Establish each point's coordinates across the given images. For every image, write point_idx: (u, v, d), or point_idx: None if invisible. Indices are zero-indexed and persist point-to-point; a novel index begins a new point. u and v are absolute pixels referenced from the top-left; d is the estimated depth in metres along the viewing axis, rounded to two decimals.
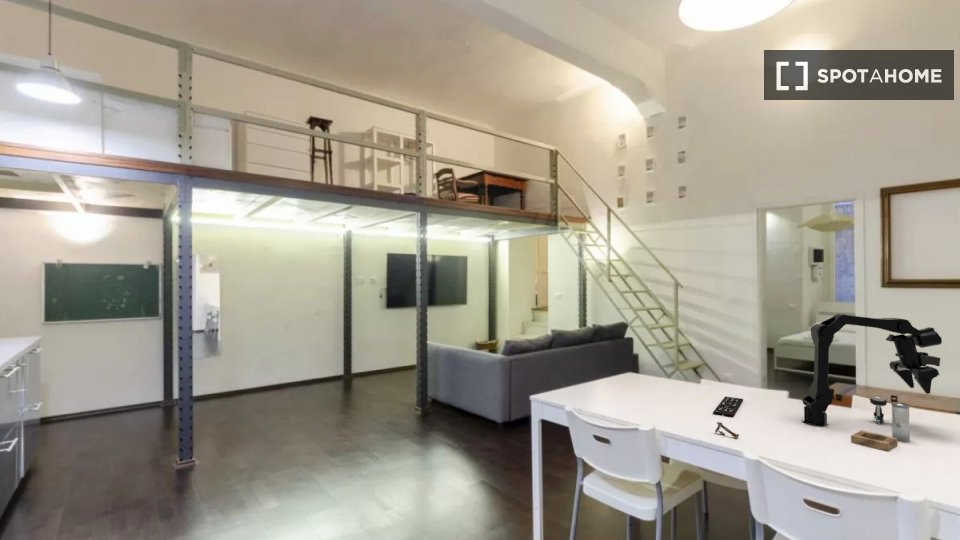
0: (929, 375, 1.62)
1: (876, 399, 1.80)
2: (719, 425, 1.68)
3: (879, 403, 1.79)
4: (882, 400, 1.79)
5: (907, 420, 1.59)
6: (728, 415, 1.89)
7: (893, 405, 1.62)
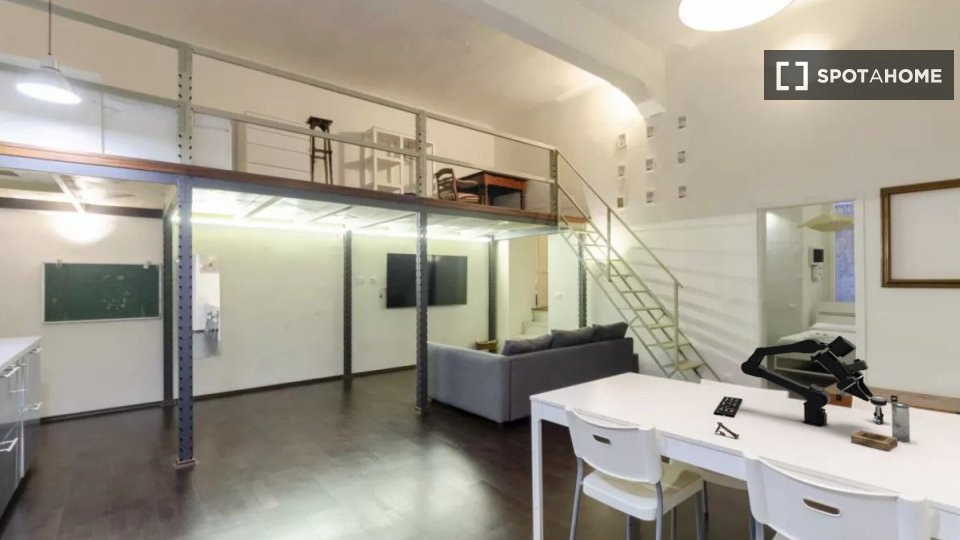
0: (846, 385, 1.65)
1: (876, 399, 1.80)
2: (719, 425, 1.68)
3: (879, 403, 1.79)
4: (882, 400, 1.79)
5: (907, 420, 1.59)
6: (729, 415, 1.88)
7: (893, 405, 1.62)
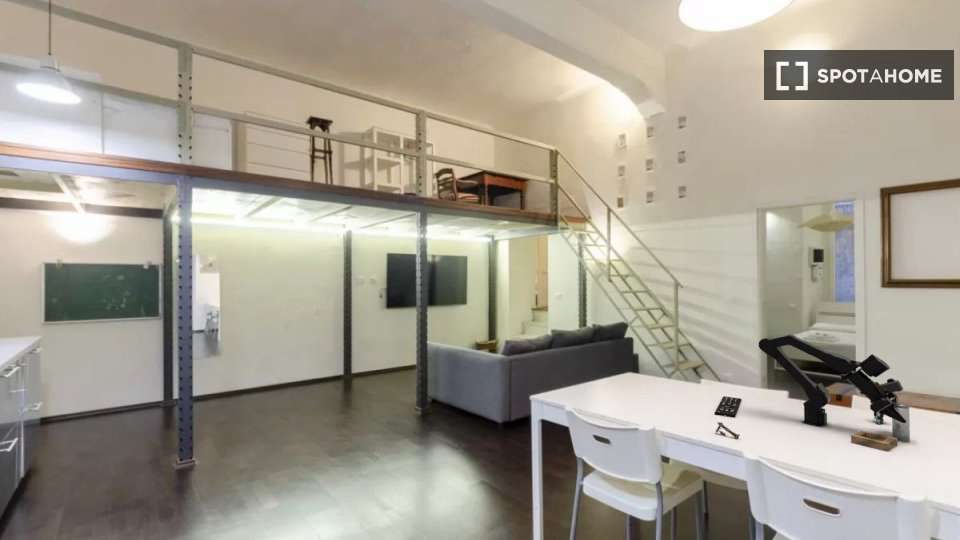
0: (881, 407, 1.58)
1: None
2: (720, 425, 1.67)
3: None
4: None
5: (907, 420, 1.59)
6: (730, 415, 1.88)
7: None
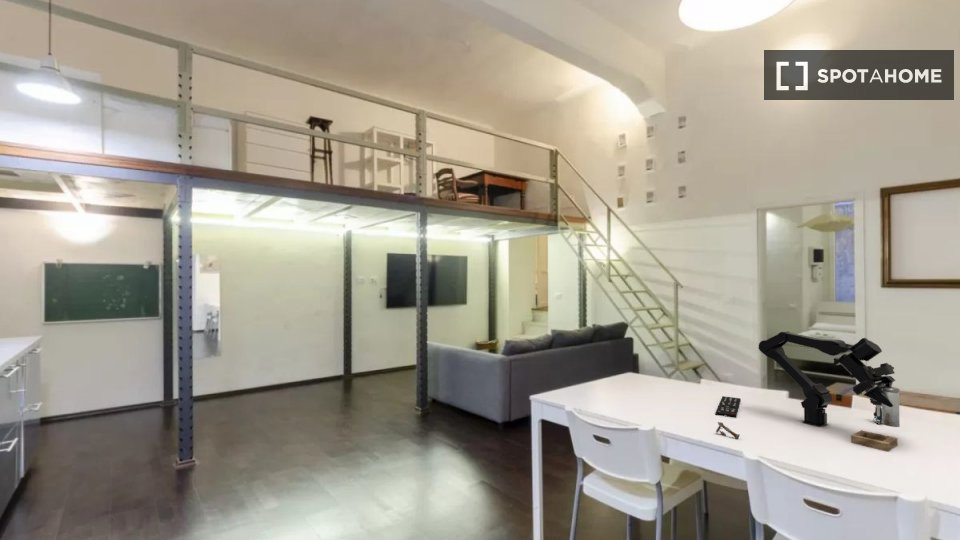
0: (862, 389, 1.58)
1: None
2: (720, 425, 1.67)
3: (879, 403, 1.79)
4: None
5: (895, 404, 1.56)
6: (731, 415, 1.88)
7: (882, 389, 1.59)
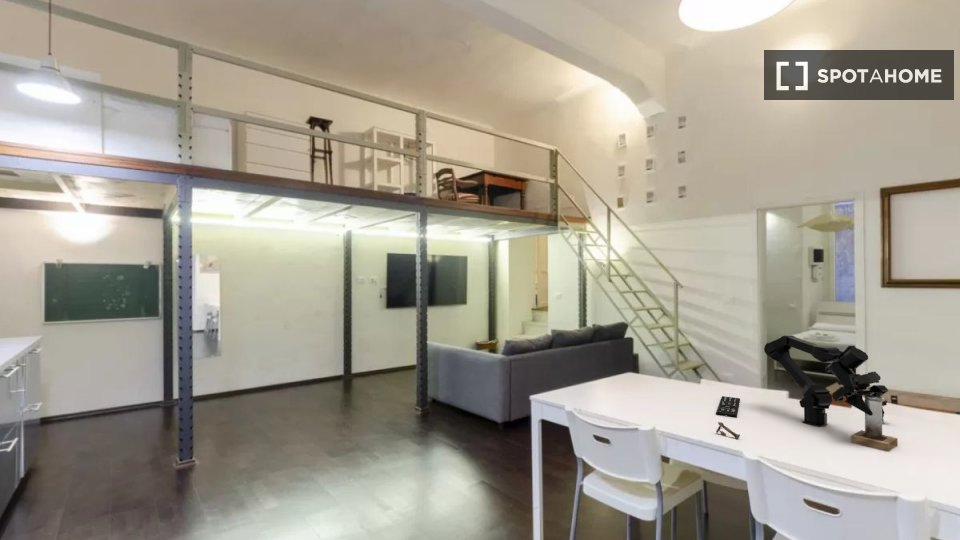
0: (839, 396, 1.60)
1: None
2: (720, 425, 1.67)
3: None
4: (882, 400, 1.79)
5: (876, 413, 1.55)
6: (731, 415, 1.88)
7: None
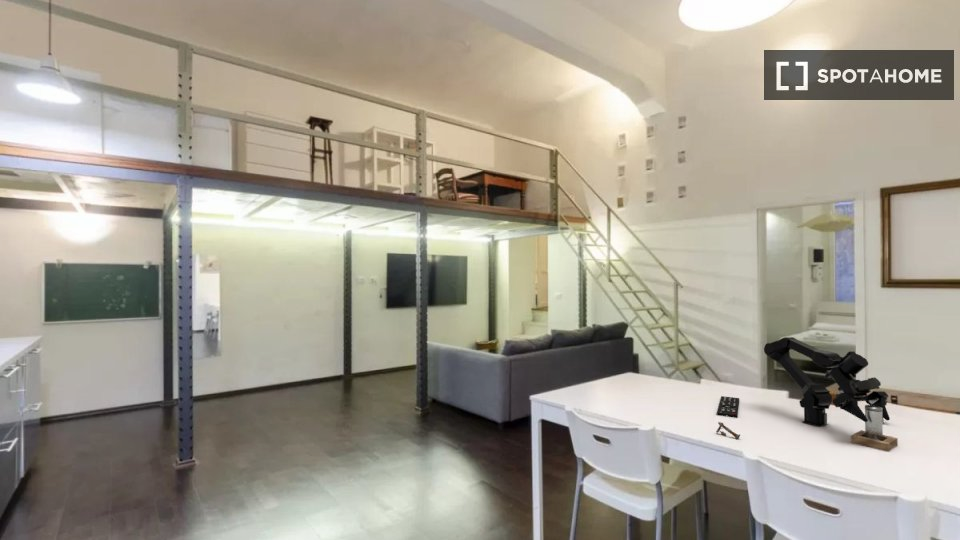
0: (839, 402, 1.60)
1: None
2: (720, 425, 1.67)
3: None
4: None
5: (876, 423, 1.55)
6: (732, 415, 1.88)
7: (865, 407, 1.59)
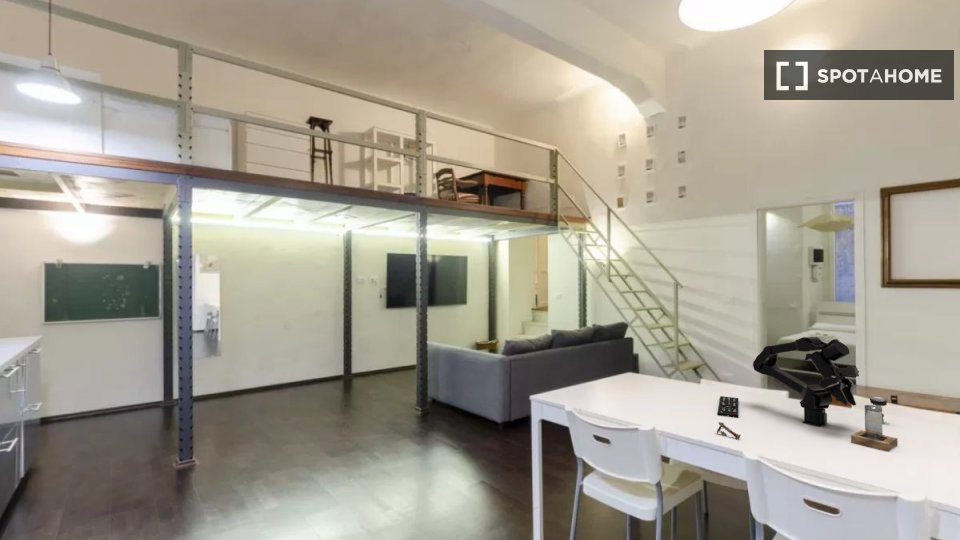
0: (828, 383, 1.66)
1: (876, 399, 1.80)
2: (721, 425, 1.67)
3: (879, 403, 1.79)
4: (882, 400, 1.79)
5: (876, 423, 1.55)
6: (733, 416, 1.88)
7: None
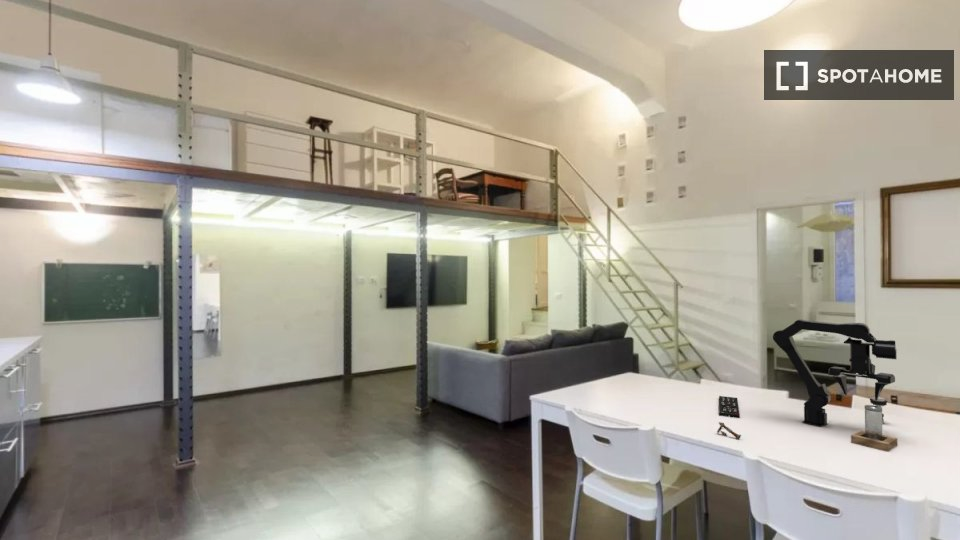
0: (892, 381, 1.62)
1: None
2: (721, 425, 1.67)
3: (879, 403, 1.79)
4: (882, 400, 1.79)
5: (876, 423, 1.55)
6: (734, 416, 1.88)
7: None
